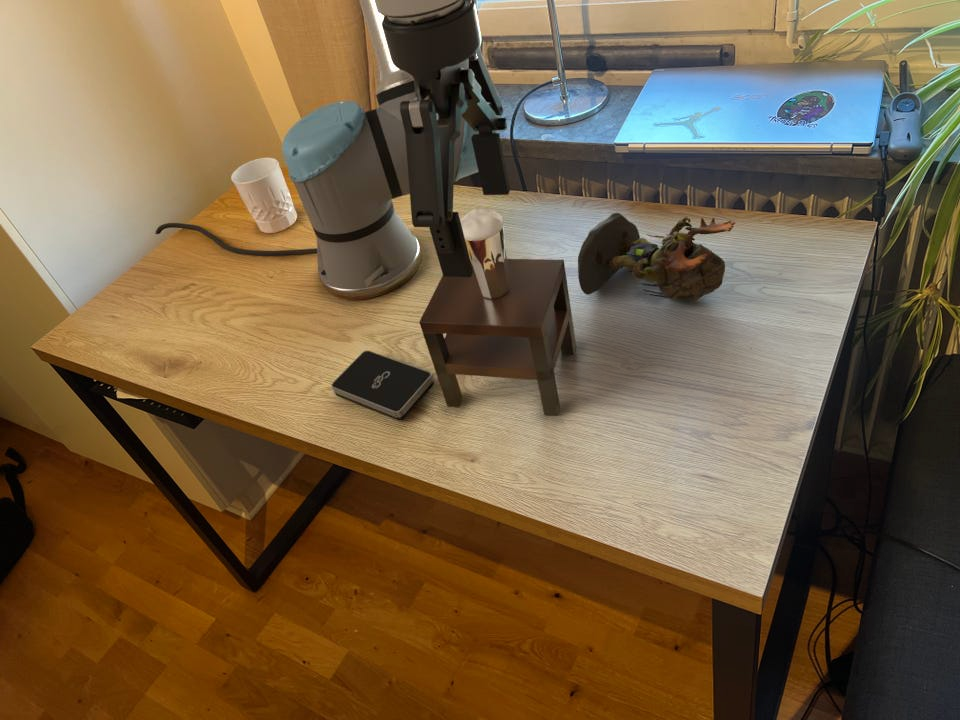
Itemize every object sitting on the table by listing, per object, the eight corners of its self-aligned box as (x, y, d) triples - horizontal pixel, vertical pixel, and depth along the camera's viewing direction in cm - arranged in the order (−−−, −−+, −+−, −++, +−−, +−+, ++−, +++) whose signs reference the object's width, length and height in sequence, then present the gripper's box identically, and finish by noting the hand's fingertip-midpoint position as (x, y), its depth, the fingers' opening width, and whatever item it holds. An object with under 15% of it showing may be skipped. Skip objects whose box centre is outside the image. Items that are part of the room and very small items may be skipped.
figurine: (611, 198, 95) (743, 202, 83) (624, 260, 100) (750, 273, 88) (551, 250, 87) (686, 263, 75) (568, 314, 92) (697, 336, 80)
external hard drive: (370, 360, 91) (365, 349, 89) (438, 385, 85) (434, 373, 84) (334, 397, 87) (329, 386, 86) (403, 425, 81) (398, 414, 80)
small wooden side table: (447, 406, 82) (418, 322, 73) (474, 341, 89) (451, 257, 81) (557, 416, 78) (541, 327, 69) (576, 347, 85) (563, 258, 76)
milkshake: (464, 282, 77) (443, 202, 70) (513, 272, 76) (496, 190, 70) (467, 308, 73) (445, 227, 67) (518, 298, 73) (501, 215, 66)
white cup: (295, 231, 118) (272, 178, 111) (251, 239, 119) (225, 186, 112) (304, 206, 124) (282, 153, 117) (262, 213, 125) (238, 162, 118)
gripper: (416, 71, 46) (479, 316, 61) (511, -53, 63) (543, 163, 77) (316, 79, 49) (399, 313, 63) (432, -43, 65) (478, 165, 79)
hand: (478, 231), depth 70 cm, fingers open, 13 cm apart
